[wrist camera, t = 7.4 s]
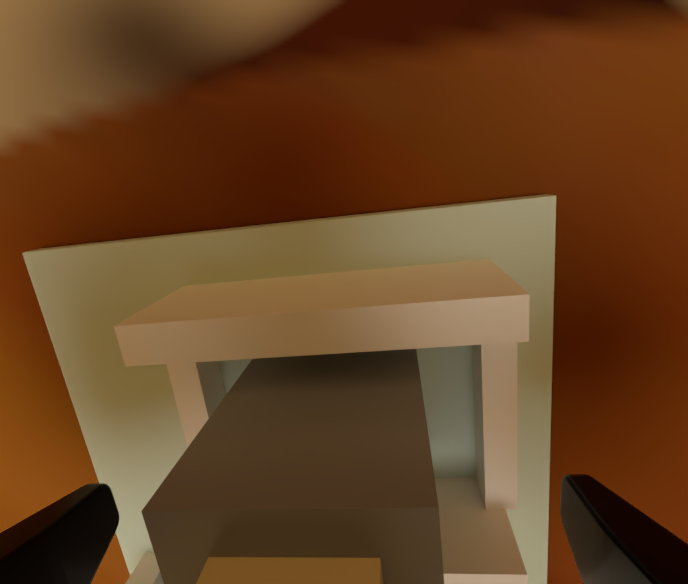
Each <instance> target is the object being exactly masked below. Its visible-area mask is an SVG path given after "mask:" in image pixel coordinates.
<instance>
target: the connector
mask: <svg viewBox="0 0 688 584" xmlns="http://www.w3.org/2000/svg"><path fill="white" fill-rule="evenodd" d="M141 512H142V515H143V519H144V522H145V525H146V528H147V531H148V534H149V538H150V541H151V544H152V547H153V550H154V554H155V557H156V560H157V563H158V566H159V570H160V573H161V576H162V579H163V582H164V584H444V575H443V561H442V547H441V532H440V518H439V506H438V499H437V492H436V485H435V478H434V471H433V463H432V456H431V449H430V442H429V435H428V428H427V421H426V414H425V407H424V400H423V393H422V386H421V379H420V372H419V365H418V358H417V351H416V349H402V350H386V351H370V352H354V353H337V354H321V355H305V356H289V357H273V358H256V359H252V360H251V361H250V363H249V364H248V365H247V367H246V368H245V370H244V371H243V372H242V374H241V375H240V376H239V378H238V379H237V381H236V382H235V383H234V385H233V386H232V387H231V389H230V390H229V392H228V393H227V394H226V396H225V397H224V398H223V400H222V401H221V403H220V404H219V405H218V407H217V408H216V409H215V411H214V412H213V413H212V415H211V416H210V418H209V419H208V420H207V422H206V423H205V424H204V426H203V427H202V429H201V430H200V431H199V433H198V434H197V435H196V437H195V438H194V440H193V441H192V442H191V444H190V445H189V446H188V448H187V449H186V451H185V452H184V453H183V455H182V456H181V457H180V459H179V460H178V462H177V463H176V464H175V466H174V467H173V468H172V470H171V471H170V473H169V474H168V475H167V477H166V478H165V479H164V481H163V482H162V484H161V485H160V486H159V488H158V489H157V490H156V492H155V493H154V495H153V496H152V497H151V499H150V500H149V501H148V503H147V504H146V506H145V507H144V508H143V510H142V511H141Z"/></svg>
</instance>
